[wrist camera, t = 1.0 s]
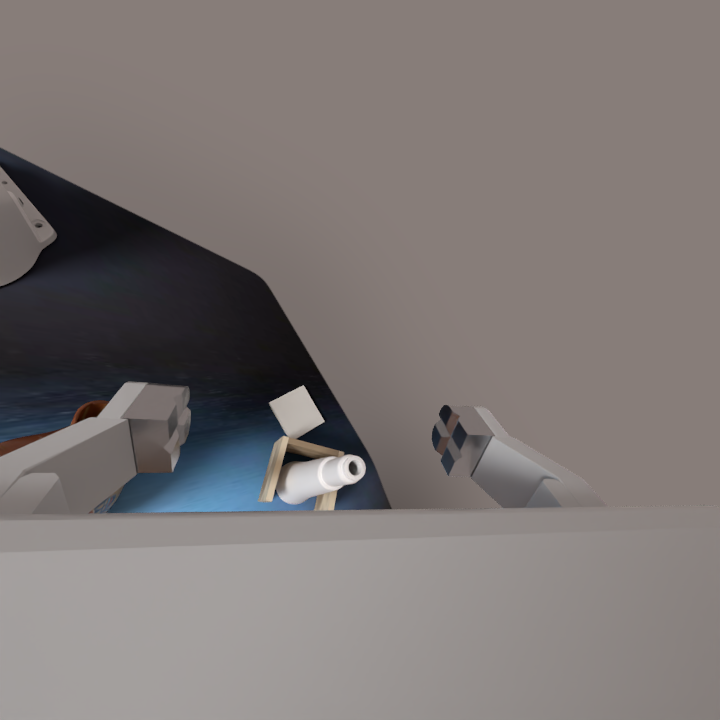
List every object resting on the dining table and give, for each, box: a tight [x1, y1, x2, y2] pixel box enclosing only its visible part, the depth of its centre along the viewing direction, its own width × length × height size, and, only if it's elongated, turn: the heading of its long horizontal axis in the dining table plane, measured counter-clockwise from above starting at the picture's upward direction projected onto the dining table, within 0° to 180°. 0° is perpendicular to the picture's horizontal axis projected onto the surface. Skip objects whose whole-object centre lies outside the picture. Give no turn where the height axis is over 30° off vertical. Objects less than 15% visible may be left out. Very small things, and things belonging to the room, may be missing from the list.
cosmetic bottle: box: [276, 455, 366, 504], centre depth 40 cm, size 6×6×22 cm
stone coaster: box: [269, 385, 325, 439], centre depth 53 cm, size 7×6×1 cm
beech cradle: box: [258, 436, 344, 511], centre depth 47 cm, size 8×9×6 cm
